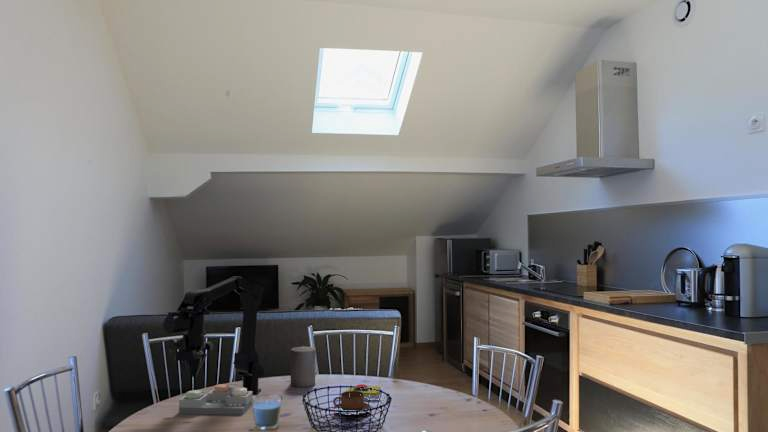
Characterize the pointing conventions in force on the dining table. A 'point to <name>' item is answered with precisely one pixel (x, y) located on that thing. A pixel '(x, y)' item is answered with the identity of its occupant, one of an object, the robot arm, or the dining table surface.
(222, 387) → the terracotta button
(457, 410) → the dining table surface
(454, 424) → the dining table surface
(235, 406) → the button panel
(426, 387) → the dining table surface
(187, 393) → the sage button
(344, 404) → the cup and saucer
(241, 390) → the cream button
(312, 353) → the pillar candle
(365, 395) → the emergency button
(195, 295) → the robot arm
